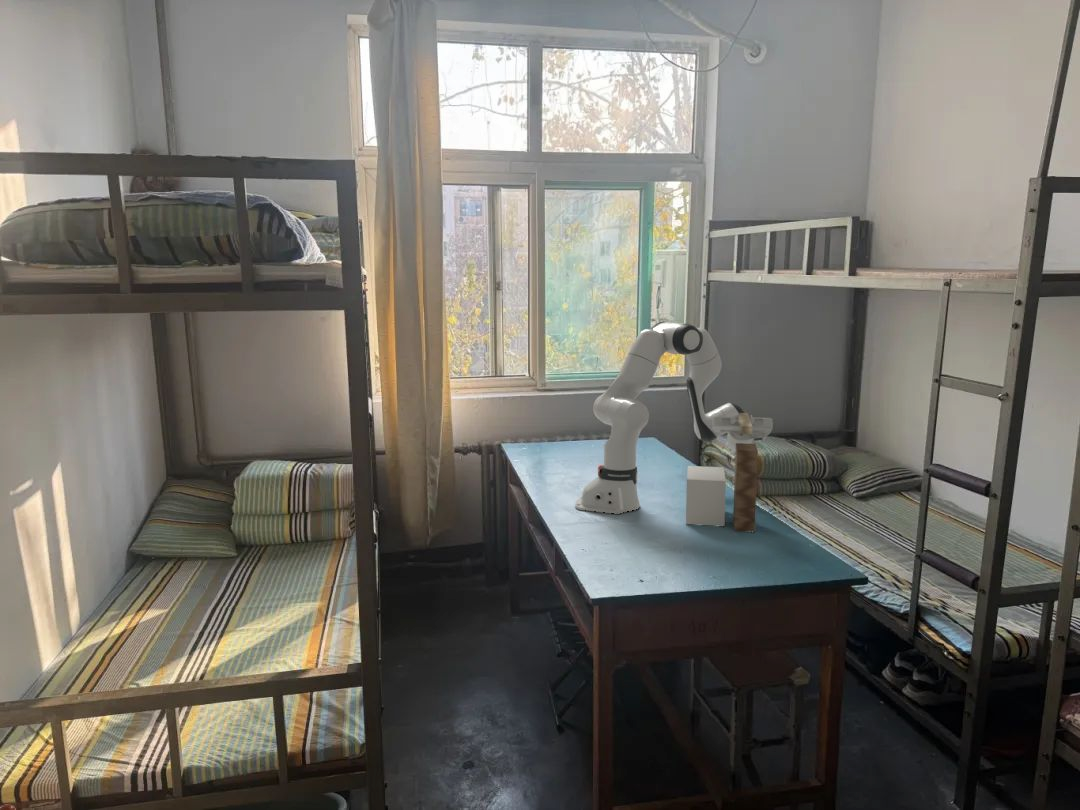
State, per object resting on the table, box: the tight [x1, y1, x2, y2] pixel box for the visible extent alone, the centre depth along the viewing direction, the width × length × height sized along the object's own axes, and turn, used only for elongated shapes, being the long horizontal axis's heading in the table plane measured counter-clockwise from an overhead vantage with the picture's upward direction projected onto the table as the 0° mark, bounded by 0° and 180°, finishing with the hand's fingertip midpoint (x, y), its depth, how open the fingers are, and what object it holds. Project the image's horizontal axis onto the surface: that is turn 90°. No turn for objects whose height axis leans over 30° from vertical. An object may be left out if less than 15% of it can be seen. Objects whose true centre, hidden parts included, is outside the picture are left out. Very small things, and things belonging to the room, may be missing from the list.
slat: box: [738, 412, 752, 434], centre depth 238 cm, size 3×24×2 cm, turn 168°
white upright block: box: [685, 465, 727, 527], centre depth 240 cm, size 12×18×15 cm, turn 168°
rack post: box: [732, 443, 759, 533], centre depth 229 cm, size 6×10×26 cm, turn 168°
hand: (743, 417), depth 246 cm, fingers closed on slat, 3 cm apart
